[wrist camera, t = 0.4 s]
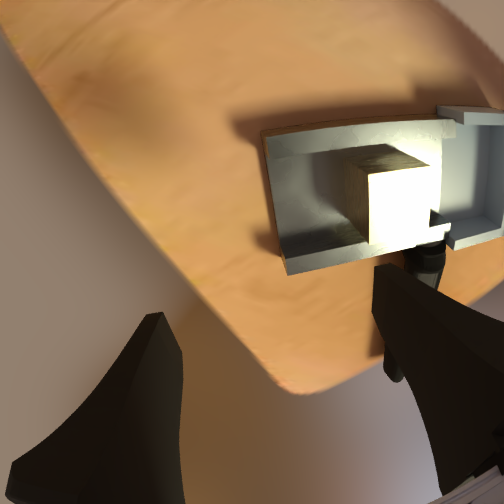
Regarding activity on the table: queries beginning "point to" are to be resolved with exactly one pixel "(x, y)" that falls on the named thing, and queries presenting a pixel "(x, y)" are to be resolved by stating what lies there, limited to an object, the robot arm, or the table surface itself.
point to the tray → (473, 175)
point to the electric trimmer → (428, 271)
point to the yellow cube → (387, 195)
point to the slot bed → (343, 184)
